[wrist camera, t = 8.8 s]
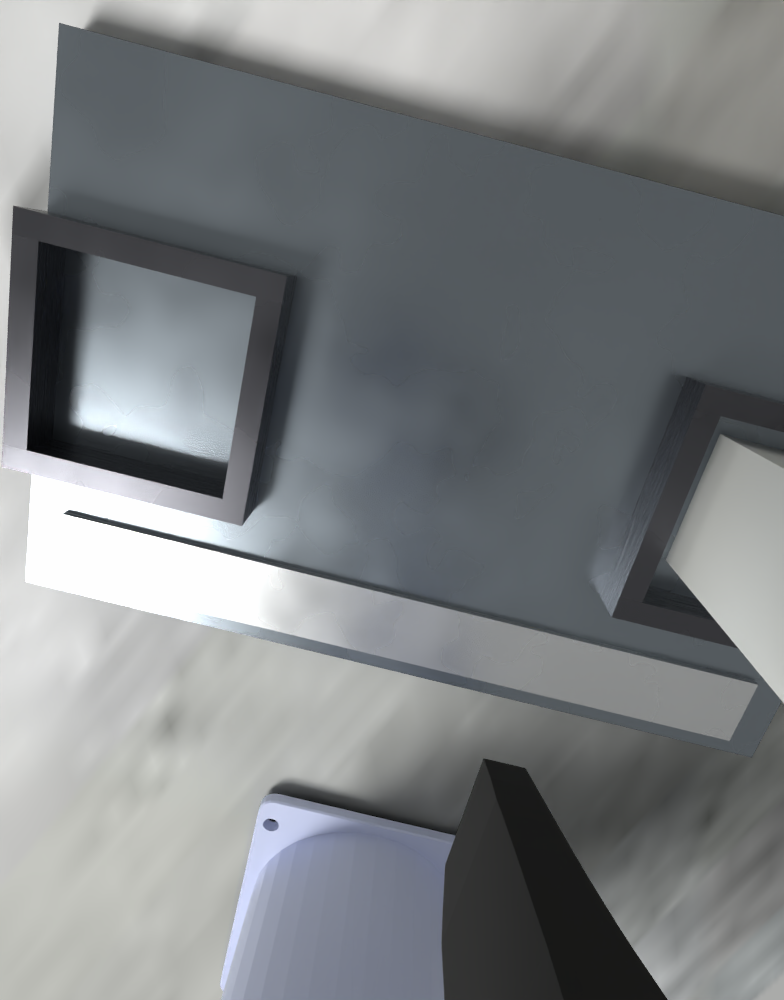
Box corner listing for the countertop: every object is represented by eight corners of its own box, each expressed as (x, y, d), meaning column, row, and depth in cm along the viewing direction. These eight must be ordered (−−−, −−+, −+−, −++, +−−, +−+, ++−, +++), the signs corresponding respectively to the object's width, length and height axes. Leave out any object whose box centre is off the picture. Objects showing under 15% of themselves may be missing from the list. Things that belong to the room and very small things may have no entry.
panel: (742, 740, 20) (775, 788, 18) (37, 568, 20) (-4, 600, 18) (984, 276, 16) (1061, 276, 14) (73, 33, 15) (22, 0, 13)
